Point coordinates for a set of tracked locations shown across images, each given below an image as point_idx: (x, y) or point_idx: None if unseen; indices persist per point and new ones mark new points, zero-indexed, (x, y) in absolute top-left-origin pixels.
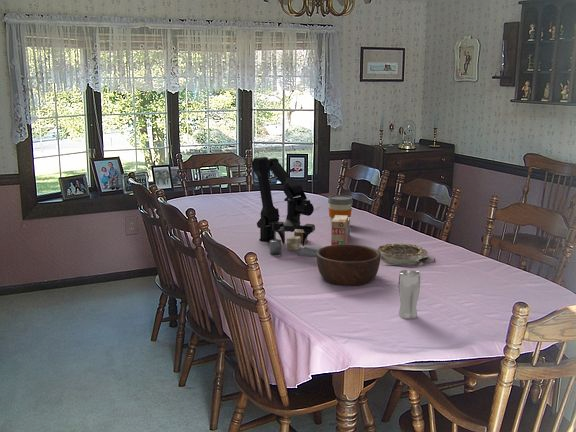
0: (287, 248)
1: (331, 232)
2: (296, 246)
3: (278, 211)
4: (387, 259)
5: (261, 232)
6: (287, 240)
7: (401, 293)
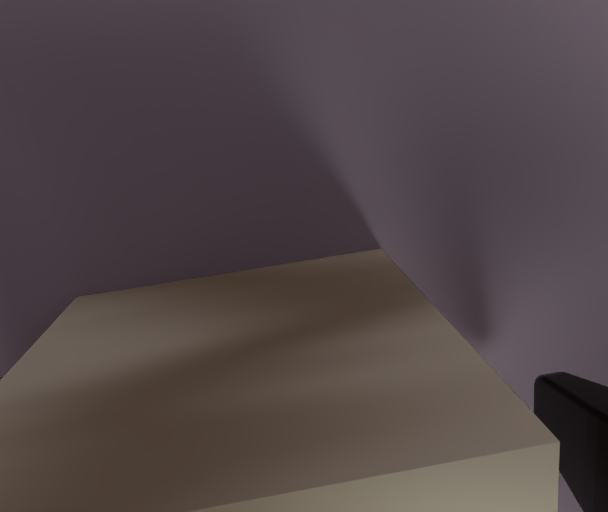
0: (363, 258)
1: None
2: (62, 336)
3: None
4: None
5: None
6: (459, 385)
7: None
